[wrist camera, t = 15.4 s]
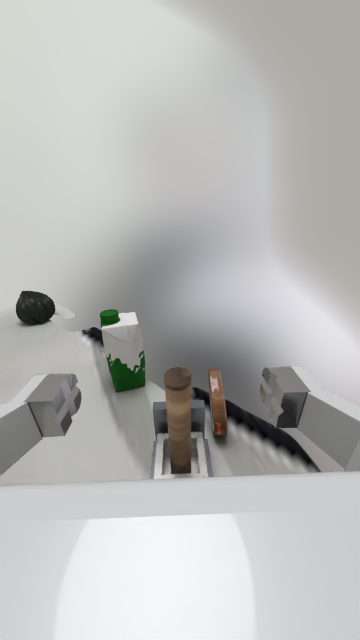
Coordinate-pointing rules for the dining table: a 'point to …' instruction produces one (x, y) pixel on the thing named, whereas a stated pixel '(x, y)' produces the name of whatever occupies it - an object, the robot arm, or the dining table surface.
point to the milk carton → (123, 349)
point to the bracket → (198, 444)
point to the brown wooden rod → (179, 418)
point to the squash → (34, 307)
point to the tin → (217, 403)
